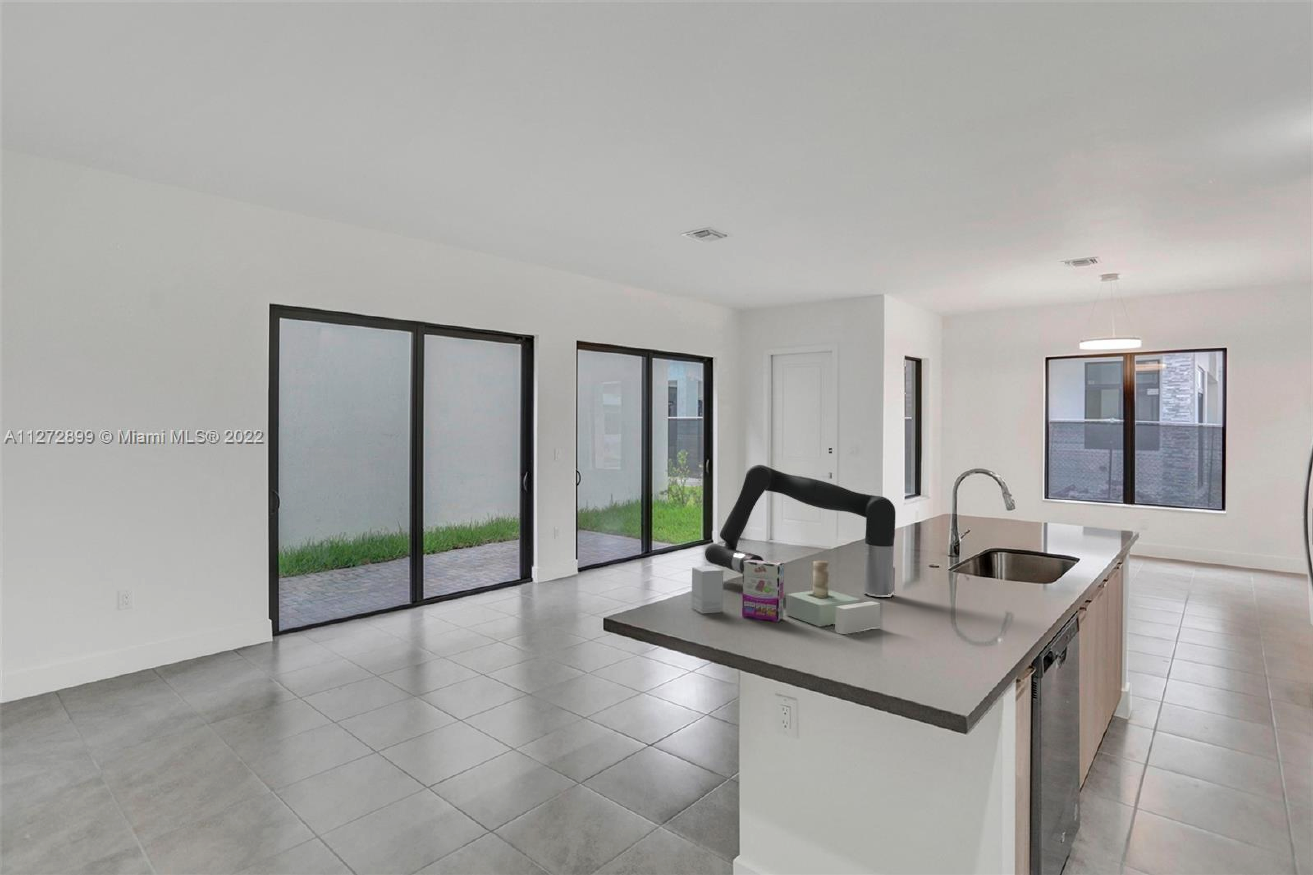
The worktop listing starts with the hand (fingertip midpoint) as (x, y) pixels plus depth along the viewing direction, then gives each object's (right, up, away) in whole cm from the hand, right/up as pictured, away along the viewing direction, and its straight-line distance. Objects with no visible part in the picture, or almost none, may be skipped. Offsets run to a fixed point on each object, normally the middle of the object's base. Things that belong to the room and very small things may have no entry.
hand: (781, 574), depth 213 cm
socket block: (+9, -10, -16) cm, 20 cm away
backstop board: (+16, -10, -27) cm, 33 cm away
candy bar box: (-9, -9, -17) cm, 21 cm away
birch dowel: (+9, -7, -15) cm, 18 cm away
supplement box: (-24, -9, -10) cm, 28 cm away
